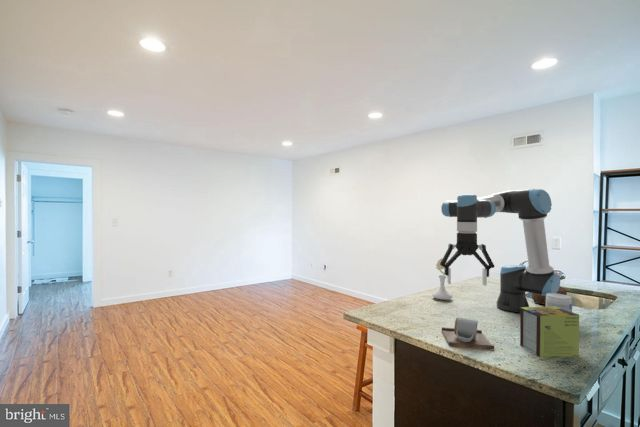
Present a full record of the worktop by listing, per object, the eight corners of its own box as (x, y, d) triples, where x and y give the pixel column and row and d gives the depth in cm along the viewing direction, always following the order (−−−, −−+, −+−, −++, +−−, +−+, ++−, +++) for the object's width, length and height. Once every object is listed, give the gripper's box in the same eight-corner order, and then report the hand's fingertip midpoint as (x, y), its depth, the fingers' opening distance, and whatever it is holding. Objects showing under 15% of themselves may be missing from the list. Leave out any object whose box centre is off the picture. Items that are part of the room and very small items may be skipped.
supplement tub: (575, 333, 137) (576, 299, 137) (550, 330, 140) (550, 297, 139) (566, 325, 146) (566, 293, 146) (542, 322, 149) (542, 292, 149)
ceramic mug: (454, 331, 132) (457, 313, 132) (476, 337, 128) (478, 319, 128) (451, 339, 123) (454, 319, 123) (475, 345, 119) (477, 325, 119)
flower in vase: (430, 295, 196) (430, 255, 196) (449, 296, 194) (449, 256, 194) (435, 301, 183) (435, 258, 183) (455, 302, 181) (456, 259, 181)
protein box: (579, 357, 114) (580, 314, 114) (539, 358, 113) (540, 315, 113) (555, 344, 125) (556, 305, 124) (519, 346, 123) (519, 306, 123)
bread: (526, 302, 183) (526, 288, 183) (540, 291, 208) (540, 278, 208) (560, 308, 172) (560, 293, 172) (570, 296, 197) (570, 282, 197)
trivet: (481, 334, 134) (481, 330, 134) (494, 351, 119) (494, 345, 119) (441, 331, 137) (441, 327, 137) (449, 347, 122) (449, 342, 122)
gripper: (496, 232, 130) (496, 283, 130) (433, 231, 135) (433, 280, 135) (503, 233, 123) (503, 287, 123) (436, 232, 127) (436, 284, 128)
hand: (466, 284), depth 129 cm, fingers open, 13 cm apart
